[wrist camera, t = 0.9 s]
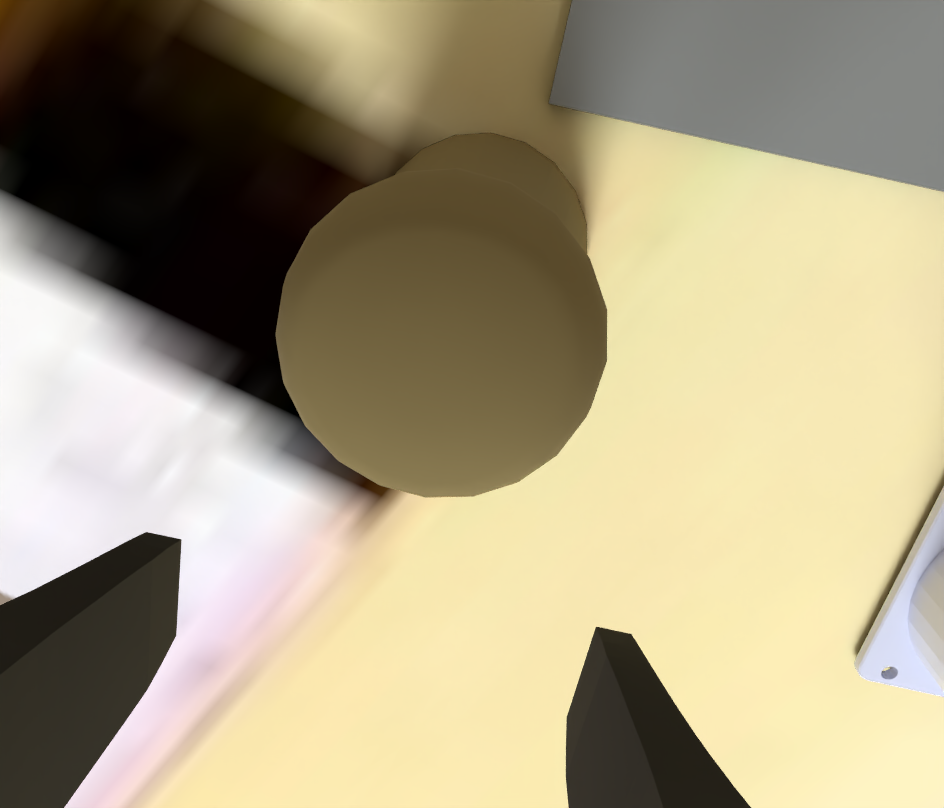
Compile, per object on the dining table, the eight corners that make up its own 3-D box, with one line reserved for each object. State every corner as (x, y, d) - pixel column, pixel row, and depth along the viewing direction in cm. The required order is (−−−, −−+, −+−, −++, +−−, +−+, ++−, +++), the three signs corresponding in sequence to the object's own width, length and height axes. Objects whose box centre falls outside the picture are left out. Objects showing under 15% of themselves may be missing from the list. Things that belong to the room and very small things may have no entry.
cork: (443, 385, 22) (368, 617, 12) (330, 207, 20) (126, 291, 10) (625, 287, 20) (725, 452, 10) (520, 85, 19) (512, 37, 8)
